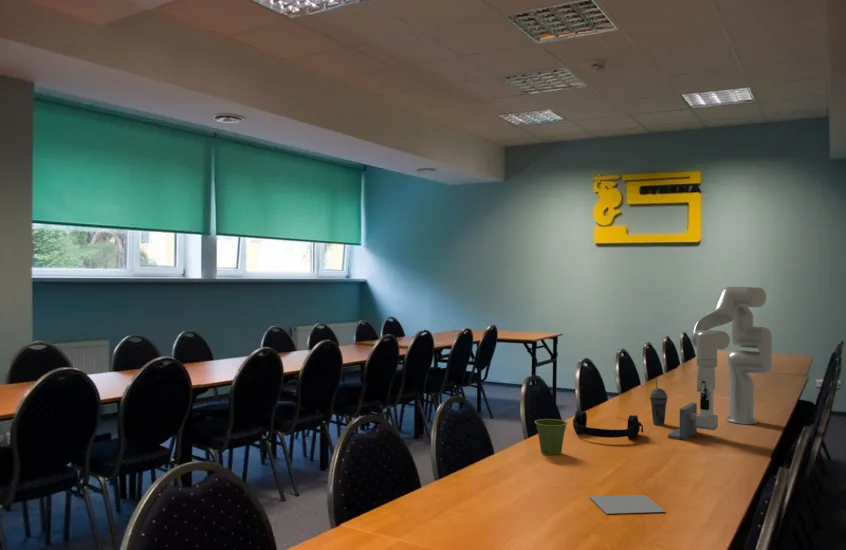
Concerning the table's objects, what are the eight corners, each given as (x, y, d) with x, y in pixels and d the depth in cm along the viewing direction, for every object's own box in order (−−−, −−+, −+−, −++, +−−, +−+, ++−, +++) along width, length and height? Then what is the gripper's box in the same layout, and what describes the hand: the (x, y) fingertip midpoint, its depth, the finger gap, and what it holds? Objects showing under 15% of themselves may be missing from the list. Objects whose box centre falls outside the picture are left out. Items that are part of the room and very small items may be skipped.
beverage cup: (668, 426, 284) (668, 379, 284) (651, 425, 286) (651, 379, 286) (666, 422, 291) (666, 377, 291) (648, 422, 293) (648, 376, 293)
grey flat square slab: (578, 488, 201) (578, 486, 201) (657, 486, 203) (657, 484, 203) (606, 516, 178) (606, 513, 178) (695, 513, 180) (695, 510, 180)
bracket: (680, 429, 278) (680, 401, 278) (720, 435, 269) (721, 405, 269) (667, 437, 264) (667, 407, 264) (710, 443, 254) (710, 412, 254)
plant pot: (569, 450, 244) (569, 419, 244) (565, 458, 233) (565, 426, 233) (537, 447, 248) (537, 417, 248) (531, 455, 237) (531, 424, 237)
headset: (630, 428, 282) (630, 407, 282) (655, 443, 255) (655, 420, 255) (565, 429, 280) (565, 408, 280) (584, 444, 254) (584, 421, 254)
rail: (702, 423, 266) (703, 389, 267) (713, 425, 264) (713, 390, 264) (700, 425, 263) (700, 390, 263) (710, 427, 261) (711, 391, 261)
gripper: (702, 360, 273) (702, 403, 273) (691, 364, 259) (691, 410, 259) (721, 361, 268) (721, 406, 268) (711, 366, 255) (711, 412, 254)
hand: (706, 407), depth 264 cm, fingers open, 6 cm apart
